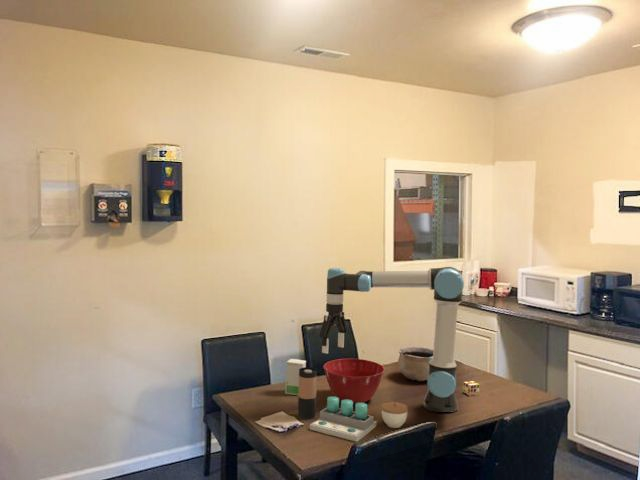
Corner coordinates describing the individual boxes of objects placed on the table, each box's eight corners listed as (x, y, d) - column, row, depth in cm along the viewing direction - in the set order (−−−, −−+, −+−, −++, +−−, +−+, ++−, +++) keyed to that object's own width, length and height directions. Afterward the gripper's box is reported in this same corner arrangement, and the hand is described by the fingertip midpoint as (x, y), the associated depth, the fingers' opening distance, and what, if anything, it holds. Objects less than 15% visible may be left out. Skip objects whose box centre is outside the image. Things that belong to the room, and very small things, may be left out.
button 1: (368, 416, 215) (369, 404, 215) (363, 420, 211) (364, 407, 211) (358, 413, 217) (358, 401, 217) (353, 417, 213) (353, 405, 213)
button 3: (340, 409, 222) (340, 397, 221) (335, 413, 217) (335, 401, 217) (330, 407, 224) (330, 395, 224) (324, 410, 220) (325, 398, 220)
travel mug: (305, 411, 232) (307, 366, 232) (319, 415, 228) (320, 369, 227) (294, 416, 227) (295, 369, 226) (307, 420, 222) (308, 373, 221)
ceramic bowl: (392, 373, 292) (393, 346, 292) (429, 372, 296) (430, 345, 296) (405, 386, 271) (406, 357, 270) (446, 385, 275) (447, 356, 274)
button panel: (376, 426, 218) (376, 414, 218) (356, 441, 202) (357, 429, 202) (331, 415, 228) (331, 403, 228) (309, 429, 213) (310, 417, 213)
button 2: (354, 413, 218) (354, 401, 218) (349, 416, 214) (349, 404, 214) (344, 410, 221) (344, 398, 220) (338, 414, 216) (339, 402, 216)
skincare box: (284, 394, 254) (285, 361, 253) (288, 389, 260) (289, 358, 260) (301, 395, 252) (302, 363, 251) (305, 391, 258) (306, 359, 258)
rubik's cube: (479, 395, 260) (479, 384, 260) (469, 396, 258) (470, 385, 258) (472, 391, 265) (472, 380, 265) (462, 392, 263) (463, 381, 263)
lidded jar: (404, 420, 226) (405, 398, 225) (409, 430, 215) (410, 407, 214) (379, 419, 225) (379, 397, 225) (383, 430, 214) (383, 407, 214)
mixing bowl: (380, 413, 233) (381, 378, 232) (316, 406, 239) (317, 372, 238) (385, 392, 261) (386, 361, 260) (328, 387, 266) (329, 356, 266)
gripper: (341, 298, 250) (339, 343, 251) (312, 305, 229) (310, 354, 230) (355, 300, 246) (353, 345, 247) (327, 307, 225) (325, 357, 226)
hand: (333, 350), depth 239 cm, fingers open, 13 cm apart
